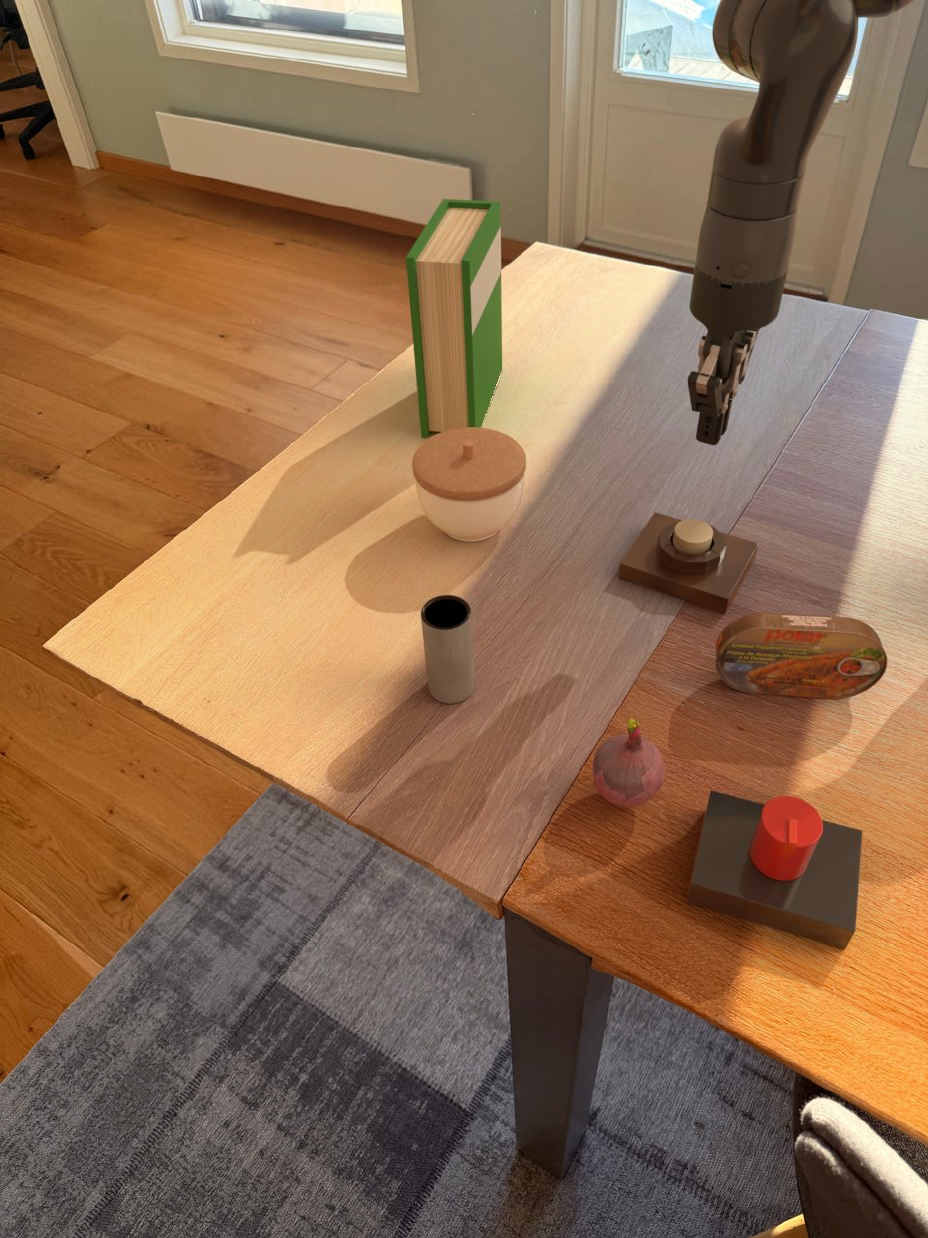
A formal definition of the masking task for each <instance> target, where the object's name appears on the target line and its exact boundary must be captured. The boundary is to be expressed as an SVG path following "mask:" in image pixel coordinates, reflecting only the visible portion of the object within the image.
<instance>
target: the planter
mask: <svg viewBox="0 0 928 1238" xmlns="http://www.w3.org/2000/svg"><path fill="white" fill-rule="evenodd" d="M420 621H421V631H422V638H423V648H424V649H423V650H424V659H425V667H426V679H427V687H428V691H429V693H430V695H431V697H432V698H433V699H435V701H438V702H439V703H443V704H450V705H451V704H458V703H461V702H463V701H466V700H467V699H469V697H471V695H472V694H473V692H474V690H475V664H474V663H475V662H474V643H473V623H472V609H471V606H470V604H469V603H468V602H467V601H466V600H465V599H464V598H462V597H460V596H457V595H452V594H442V595H437V596H435V597H432V598H430V599H428V600H427V601H426V602H425V603H424V604H423V606H422V607H421V610H420Z"/></svg>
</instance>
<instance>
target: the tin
mask: <svg viewBox="0 0 928 1238" xmlns="http://www.w3.org/2000/svg"><path fill="white" fill-rule="evenodd" d="M887 668H888V655H887V652H886V651H885V648H884V646H883V644H882V641H881V638H880V636H879V635H878V633H877V631H876V630H875V629H874V628H873V627H872V626H870V625H869V624H868V623H866V622H864V621H862V620H860V619H856V618H852V617H847V616H832V615H831V616H830V615H815V614H814V615H813V614H791V613H790V614H789V613H775V612H756V613H751V614H746V615H743V616H741V617H738V618H736V619H735V620H733V621H731V622H730V623H729V624H728V625H726V626H725V627H724V628H723V629H722V630H721V631H720V633H719V635H718V637H717V640H716V642H715V669H716V672H717V675H718V676H719V678H720V680H722V682H723V683H725V684H726V685H727V686H728V687H731V688H732V689H734V690H735V691H738V692H742V693H746V694H750V695H766V696H780V697H781V696H782V697H797V698H799V697H800V698H809V699H810V698H811V699H823V700H824V699H825V700H838V699H839V700H840V699H846V698H847V699H848V698H851V697H855V696H858V695H859V694H863V693H864V692H866V691H868V690H870V689H871V688H872V687H874V686H875V685H876V684H877V683H879V681H880V680H881V679H882V678H883V676H884V675H885V673H886V670H887Z"/></svg>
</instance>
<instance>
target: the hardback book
mask: <svg viewBox="0 0 928 1238" xmlns="http://www.w3.org/2000/svg"><path fill="white" fill-rule="evenodd" d="M501 211H502V210H501V201H500V200H499V201H498V200H497V201H495V200H477V199H476V200H474V199H473V200H472V199H453V198H442V200H441V202H440V203H439V204H438V206H437V208H436V209H435V210H434V213H433V214H432V215H431V217H430V219H429V220H428V222H427V223H426V225H425V226H424V228H423V230H422V231H421V233H420V235H419V236H418V237H417V239H416V240H415V242H414V243H413V245H412V247H411V248H410V250H409V252H408V253H407V255H406V256H405V263H406V274H407V275H406V276H407V285H408V297H409V298H408V299H409V309H410V311H409V312H410V321H411V333H412V334H411V335H412V342H413V343H412V344H413V346H412V347H413V357H414V367H415V368H414V369H415V377H416V378H415V379H416V381H415V382H416V390H417V392H416V393H417V404H418V405H417V406H418V414H419V416H418V417H419V427H420V438H426V437H428V438H430V434H431V432H438V433H441V432H444V431H448V430H452V429H457V428H465V427H477V428H481V426H482V427H483V425H482V423H483V420H484V417H485V414H486V413H487V414H488V412H487V410H488V407H489V404H490V401H491V398H492V396H493V393H494V390H495V387H496V384H497V382H498V379H499V376H500V373H501V371H502V372H503V315H502V314H503V313H502V312H503V310H502V309H503V308H502V307H503V305H502V230H501V229H502V225H501V223H502V221H501V220H502V219H501V215H502V213H501ZM490 405H491V404H490ZM489 408H490V407H489ZM488 411H489V410H488ZM485 418H486V417H485ZM484 421H485V420H484ZM483 424H484V423H483Z"/></svg>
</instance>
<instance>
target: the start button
mask: <svg viewBox="0 0 928 1238" xmlns="http://www.w3.org/2000/svg"><path fill="white" fill-rule="evenodd" d="M682 520H683V521H681V522H679V523H678V524H677V525H676V526H675V529H674V535H673V545H674V547H675V548H676V549H677V550H678V551H680V552H683V553H686V554H689V555H699V554H703V553H706V552H707V551H708V550H709V549H710V547H711V542H712V537H713V530H712V528H711V527H710V526H709V525H708V524H709V523H707V522H705V521H703V520H701V519H696V518H695V519H694V518H689V519H682Z"/></svg>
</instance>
